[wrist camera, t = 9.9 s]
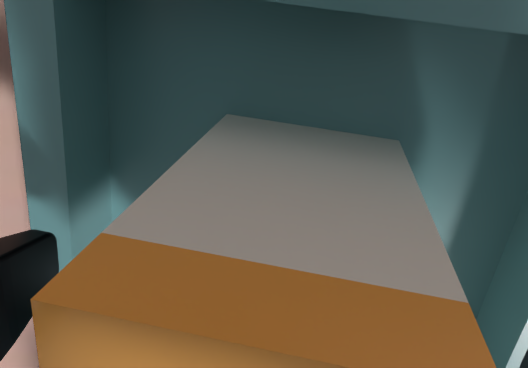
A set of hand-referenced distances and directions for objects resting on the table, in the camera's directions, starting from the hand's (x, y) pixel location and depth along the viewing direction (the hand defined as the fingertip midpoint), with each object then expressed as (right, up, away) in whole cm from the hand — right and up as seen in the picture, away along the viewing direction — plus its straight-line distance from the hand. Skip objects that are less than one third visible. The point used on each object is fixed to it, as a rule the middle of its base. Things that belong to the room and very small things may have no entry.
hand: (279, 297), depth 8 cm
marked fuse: (+1, +1, +3) cm, 3 cm away
